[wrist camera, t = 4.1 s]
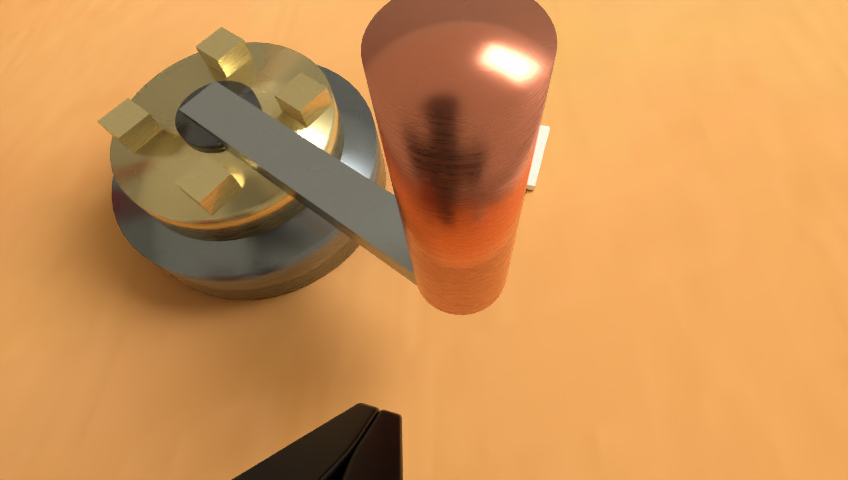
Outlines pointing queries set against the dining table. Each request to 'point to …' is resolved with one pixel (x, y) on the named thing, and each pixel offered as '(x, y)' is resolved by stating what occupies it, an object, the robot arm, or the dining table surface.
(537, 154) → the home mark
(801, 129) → the dining table surface
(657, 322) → the dining table surface
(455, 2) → the copper crank handle
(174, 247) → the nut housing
